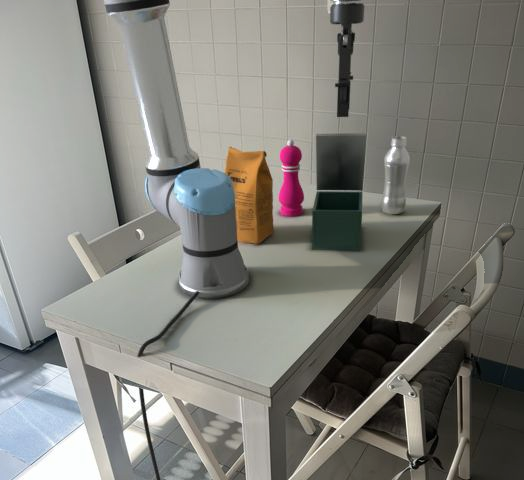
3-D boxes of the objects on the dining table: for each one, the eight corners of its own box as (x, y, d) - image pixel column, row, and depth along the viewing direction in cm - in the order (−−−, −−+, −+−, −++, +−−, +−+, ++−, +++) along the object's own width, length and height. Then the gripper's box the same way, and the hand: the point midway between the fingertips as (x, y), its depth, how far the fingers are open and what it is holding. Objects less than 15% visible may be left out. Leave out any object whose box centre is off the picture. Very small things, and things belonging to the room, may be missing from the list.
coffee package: (242, 225, 145) (237, 141, 133) (279, 234, 139) (277, 147, 126) (218, 237, 139) (210, 150, 126) (256, 247, 132) (251, 156, 120)
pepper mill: (300, 218, 148) (300, 143, 137) (275, 216, 150) (273, 142, 139) (306, 209, 154) (307, 136, 142) (283, 207, 156) (281, 136, 145)
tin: (359, 250, 128) (362, 211, 123) (311, 249, 130) (312, 210, 124) (360, 228, 140) (362, 191, 134) (316, 227, 142) (316, 191, 136)
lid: (366, 135, 122) (366, 133, 122) (315, 135, 123) (316, 133, 124) (362, 190, 134) (362, 188, 134) (316, 190, 136) (316, 188, 136)
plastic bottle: (406, 216, 146) (415, 140, 134) (382, 217, 146) (388, 141, 135) (402, 208, 151) (410, 134, 140) (378, 209, 151) (384, 135, 140)
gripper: (364, 3, 108) (358, 121, 121) (364, 0, 125) (359, 104, 138) (327, 5, 109) (325, 122, 122) (332, 2, 127) (330, 105, 139)
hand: (343, 112), depth 130 cm, fingers open, 8 cm apart
